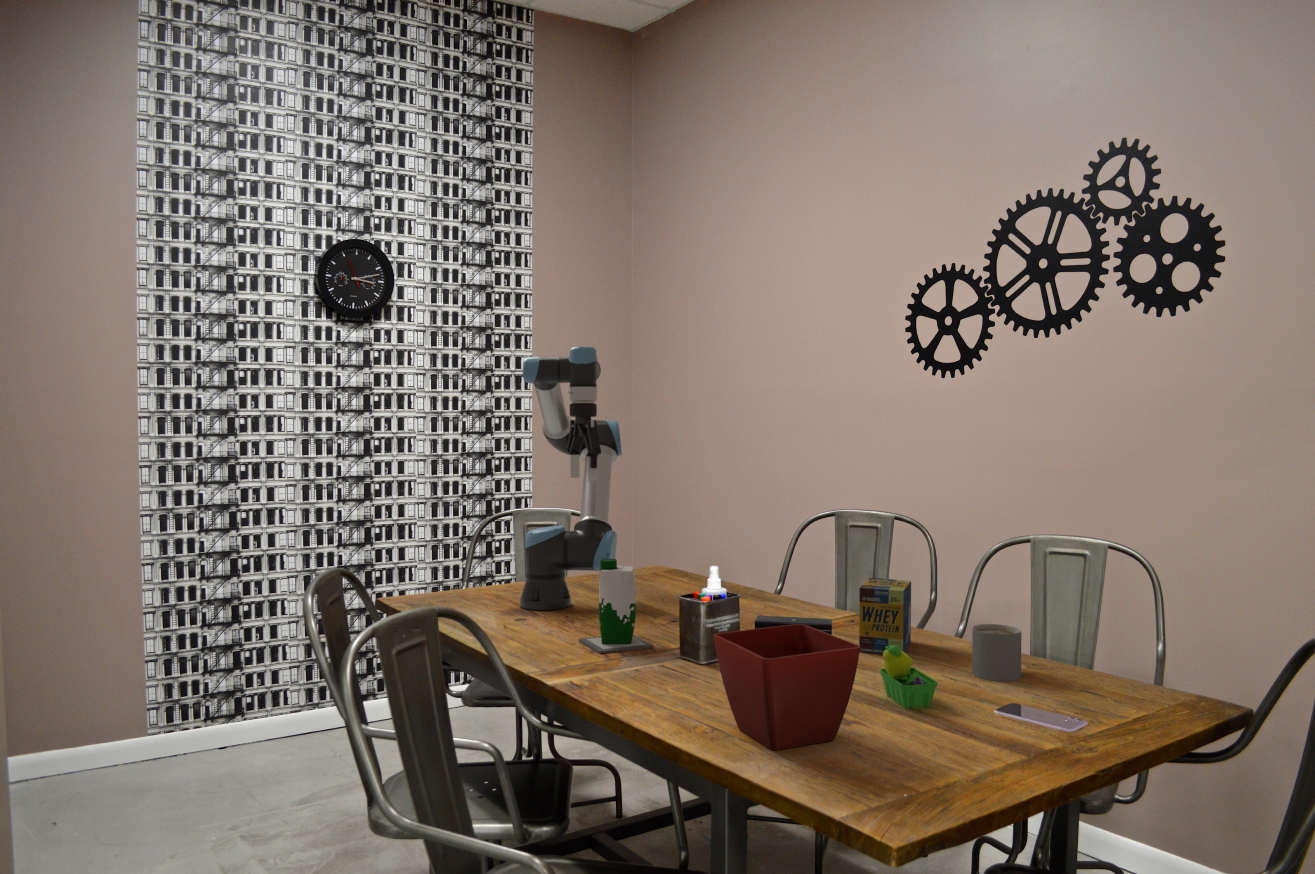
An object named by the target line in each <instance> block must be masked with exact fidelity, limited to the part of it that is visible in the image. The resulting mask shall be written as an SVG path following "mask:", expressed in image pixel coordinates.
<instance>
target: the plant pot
mask: <svg viewBox="0 0 1315 874" xmlns="http://www.w3.org/2000/svg"><path fill="white" fill-rule="evenodd" d="M713 639H714V640H713V641H714V647H715V652H716V653H715V654H716V657H717V663H718V667H719V668H718V669H719V671H720V672H719V673H720V676H721V679H722V683H723V687H724V691H725V693H726V696H727V701H728V704H729V706H730V710H731V712H732V715H733V718H734V721H735V723H736V726H737V728H738V729H739V730H740V731H741V732H744V734H746V735H747V736H749V737H751V738H752V739H754V741H755V740H756V741H757V742H758V743H760V744H762V745H763V746H765V747H766V748H768V749H770V750H771V751H772V750H773V751H778V750H779V751H780V750H787V749H791V748H796V747H797V748H798V747H801V746H807V745H812V744H813V745H814V744H818V743H824V742H829V741H834V740H835V738H836V736H837V733H838V732H839V730H840V727H841V725H842V722H843V719H844V716H845V713H846V712H847V707H848V705H849V703H850V702H849V701H850V698H851V695H852V691H853V686H854V684H855V683H854V682H855V678H856V675H857V674H856V673H857V669H858V663H859V659H860V653H861V652H860V646H859V644H858V643H857V644H856V643H854V642H851V641H848V640H846V639H843V638H841V637H837V636H835V635H833V634H830V633H828V632H826V631H823V630H820V629H817V628H814V627H812V626H809V625H807V624H802V623H797V624H796V623H794V624H788V625H787V624H785V625H778V626H768V627H761V628H754V629H753V628H751V629H743V630H734V631H724V632H716V633H714V634H713Z"/></svg>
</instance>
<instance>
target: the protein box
mask: <svg viewBox="0 0 1315 874" xmlns="http://www.w3.org/2000/svg"><path fill="white" fill-rule="evenodd" d="M858 589H859V591H858V593H859V594H858V598H859V599H858V601H859V603H858V604H859V605H858V607H859V608H858V612H859V613H858V645H859V646H860V653H867V654H877V655H883V653H884V651H885V650H886V648H885V647H886V646H889V647H890V646H891V645H896V646H898V647H899V648H900V650H901V651H903V652H905V653H906V651H907V650H908V648H909V646H910V644H911V642H912V637H911V635H912V634H911V633H912V629H911V628H912V581H911V580H904V579H891V578H890V579H889V578H877V577H869V578H868V579H866V581H865V582H864V583H863V584H862V585H861V586H860V587H859V588H858Z"/></svg>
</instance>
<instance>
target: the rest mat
mask: <svg viewBox="0 0 1315 874" xmlns="http://www.w3.org/2000/svg"><path fill="white" fill-rule="evenodd" d="M578 642H579V643H581V644H583V645H584V646H586V647H587V648H589V649H591V650H592V651H594V652H596V653H597V652H598V653H597V654H599V655H602V654H601V653H605V654H611V652H613V653H619V651H621V652H627V651H628V650H630V651H635V649H638V650H644V649H643V648H646V649H653V647H654V644H652V643H650V642H648V641H647V640H644V639H642V638H640V637H639V636H636V635H634V634H633V637H632V643H631V644H602V639H601V635H600V636H592V637H583V638H578ZM628 652H629V651H628Z"/></svg>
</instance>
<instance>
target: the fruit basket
mask: <svg viewBox="0 0 1315 874" xmlns="http://www.w3.org/2000/svg"><path fill="white" fill-rule="evenodd" d="M885 648H886V650H885V651H884V653H883V654H882V658H883V665H884V668H880V669H879V672H880V675H881V677H882V681H883V686H884V689H885V692H886V696H888V697H889V698H891V699H892V701H894V702H896V703H897V704H898V705H899V706H901V707H902V708H904V709H906V710H907V709H922V708H931V706H932V705H931V704H932V701H933V698H934V696H935V695H934V694H935V692H936V688H937V686H938V681H936V680H935V679H934V678H932V677H930V676H928V675H927V674H925V673H924V672H922V671H920V670H919V669H917V668H916V667H912V665H913V662H914V661H913V659H912V657H911V656H909V655H908V654H907V653H906V651H905V652H903V651H901V650H900V648H899V647H898V646H896V645H891V646H890V647H889V646H886V647H885Z"/></svg>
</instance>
